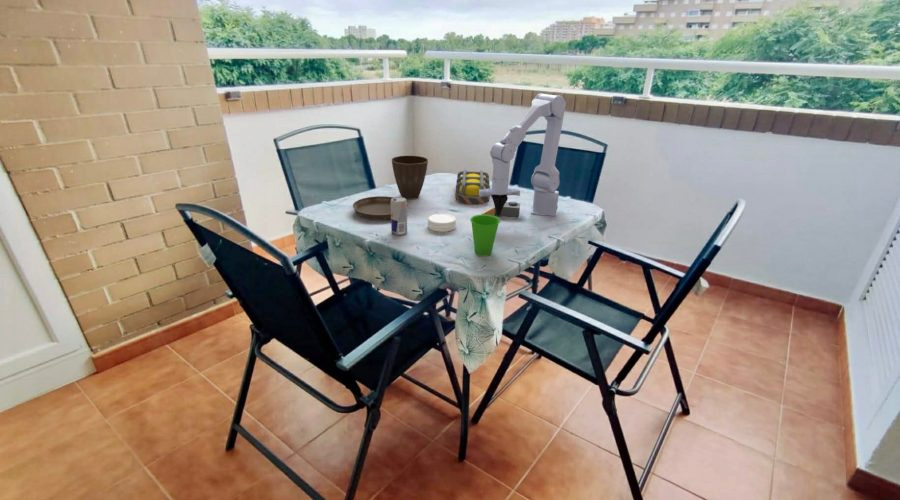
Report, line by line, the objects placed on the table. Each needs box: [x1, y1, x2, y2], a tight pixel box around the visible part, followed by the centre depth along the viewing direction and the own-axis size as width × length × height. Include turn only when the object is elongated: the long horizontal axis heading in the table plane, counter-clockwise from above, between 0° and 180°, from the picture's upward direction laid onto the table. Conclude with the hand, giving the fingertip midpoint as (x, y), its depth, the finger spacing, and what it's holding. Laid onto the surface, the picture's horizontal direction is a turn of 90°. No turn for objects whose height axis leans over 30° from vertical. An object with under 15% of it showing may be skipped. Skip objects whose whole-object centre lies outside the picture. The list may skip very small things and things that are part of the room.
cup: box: [469, 214, 501, 257], centre depth 133 cm, size 9×9×11 cm
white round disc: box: [427, 213, 457, 233], centre depth 154 cm, size 10×10×4 cm
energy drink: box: [390, 196, 408, 236], centre depth 146 cm, size 5×5×12 cm
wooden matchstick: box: [480, 206, 496, 216], centre depth 160 cm, size 10×1×3 cm, turn 146°
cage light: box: [454, 169, 491, 206], centre depth 188 cm, size 15×8×30 cm
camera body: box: [494, 201, 521, 219], centre depth 166 cm, size 10×7×5 cm
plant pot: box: [391, 155, 429, 200], centre depth 181 cm, size 15×15×16 cm
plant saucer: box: [352, 195, 394, 221], centre depth 166 cm, size 21×21×3 cm
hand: (498, 214), depth 157 cm, fingers closed
